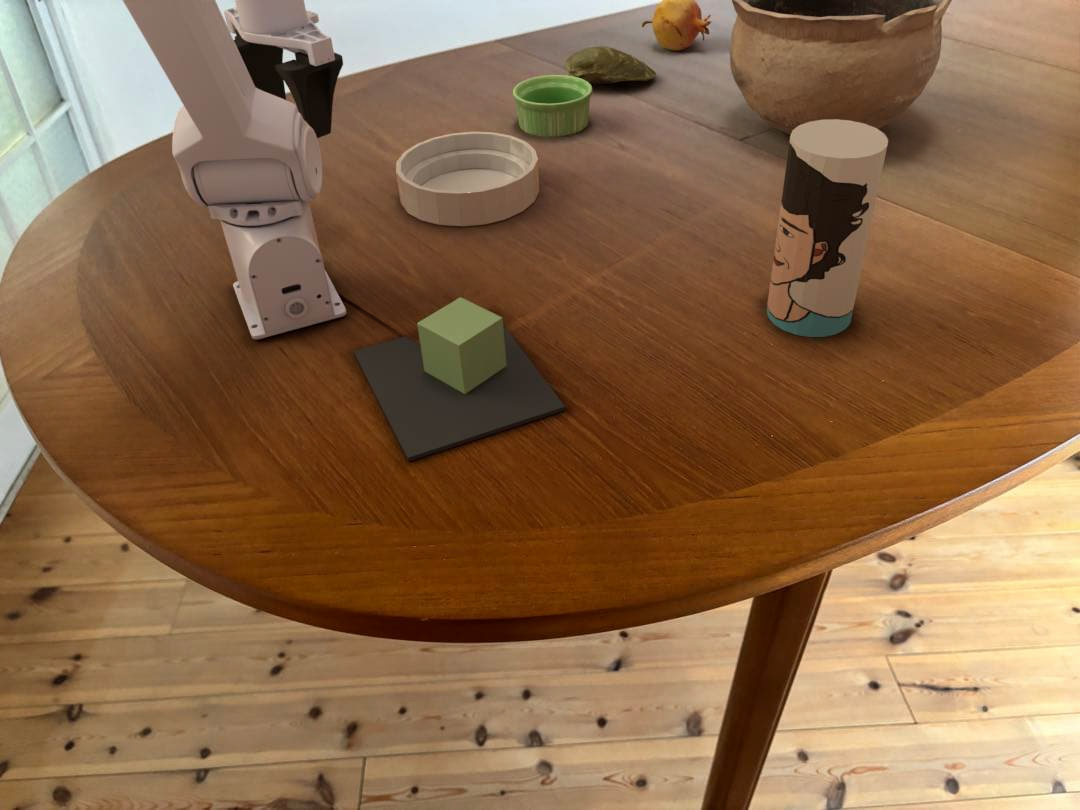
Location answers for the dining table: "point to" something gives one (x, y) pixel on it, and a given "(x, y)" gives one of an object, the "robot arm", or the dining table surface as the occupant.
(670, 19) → the fruit
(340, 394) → the dining table surface
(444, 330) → the green block
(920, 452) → the dining table surface
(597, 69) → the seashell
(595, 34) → the dining table surface
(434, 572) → the dining table surface
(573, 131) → the ramekin
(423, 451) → the mat
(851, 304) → the cup
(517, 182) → the basin
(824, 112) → the ceramic bowl
